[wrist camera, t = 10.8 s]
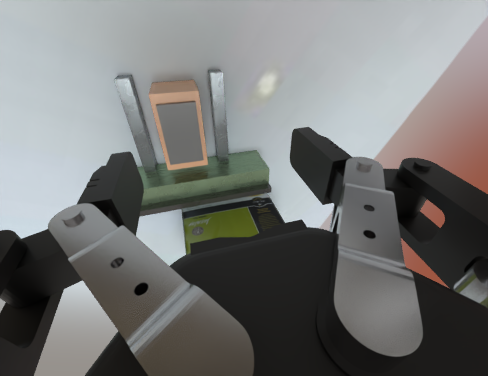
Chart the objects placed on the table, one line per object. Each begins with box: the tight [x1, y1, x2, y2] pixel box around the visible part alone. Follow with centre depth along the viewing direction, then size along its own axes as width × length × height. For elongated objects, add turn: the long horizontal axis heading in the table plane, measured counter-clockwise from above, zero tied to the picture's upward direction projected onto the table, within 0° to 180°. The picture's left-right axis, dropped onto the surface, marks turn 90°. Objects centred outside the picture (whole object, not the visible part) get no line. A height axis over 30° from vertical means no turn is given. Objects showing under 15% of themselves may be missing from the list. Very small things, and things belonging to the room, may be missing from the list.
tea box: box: [182, 193, 285, 255], centre depth 36 cm, size 15×10×15 cm, turn 89°
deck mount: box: [114, 70, 271, 216], centre depth 29 cm, size 22×15×7 cm
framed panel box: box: [149, 80, 208, 170], centre depth 28 cm, size 5×9×6 cm, turn 1°
